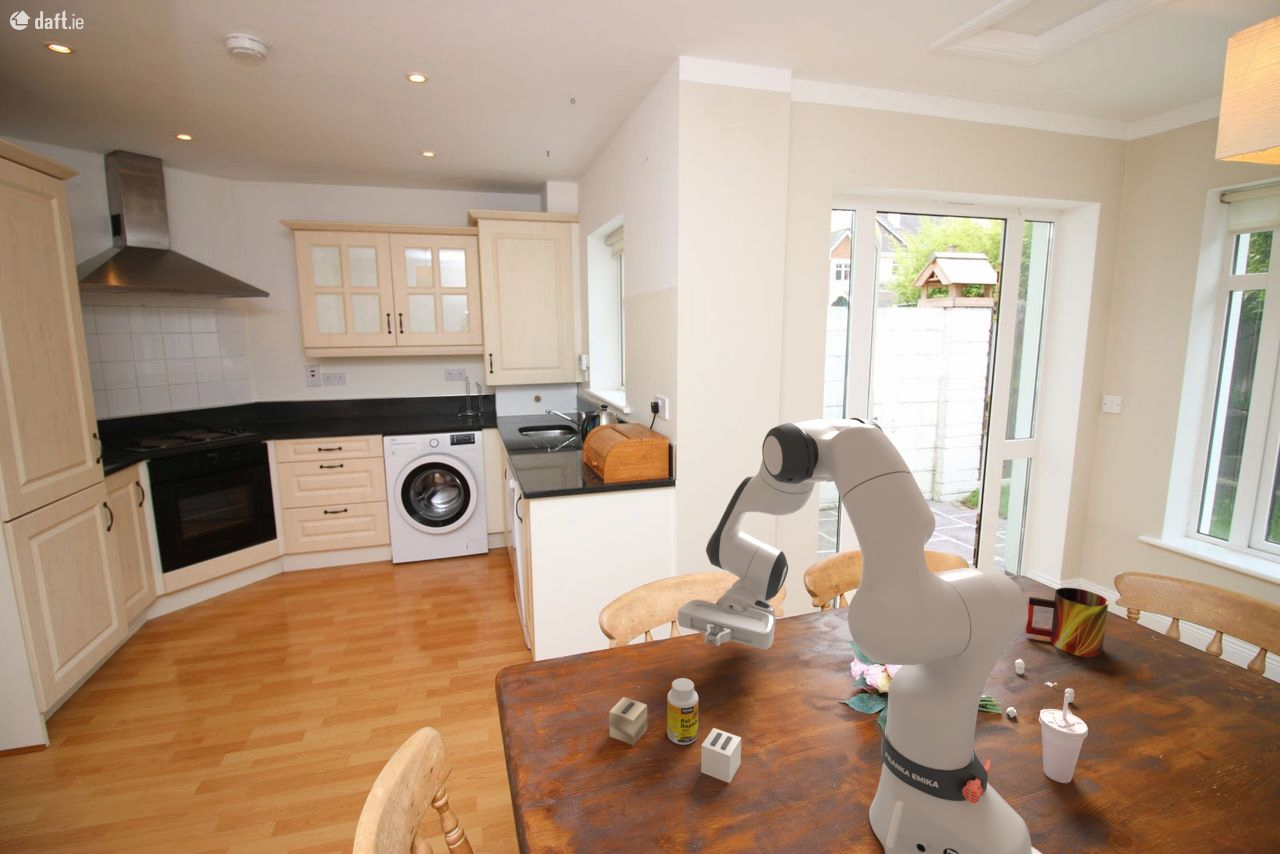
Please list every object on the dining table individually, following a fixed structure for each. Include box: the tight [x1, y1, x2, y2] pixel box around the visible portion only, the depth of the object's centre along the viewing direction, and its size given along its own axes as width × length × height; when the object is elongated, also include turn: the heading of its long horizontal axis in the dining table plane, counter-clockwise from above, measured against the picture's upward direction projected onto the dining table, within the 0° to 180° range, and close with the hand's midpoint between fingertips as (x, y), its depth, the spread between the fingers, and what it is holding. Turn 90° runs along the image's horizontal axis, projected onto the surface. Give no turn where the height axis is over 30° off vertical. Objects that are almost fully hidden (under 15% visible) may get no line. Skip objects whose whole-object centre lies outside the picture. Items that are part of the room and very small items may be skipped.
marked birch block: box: [608, 696, 648, 747], centre depth 107 cm, size 5×5×5 cm
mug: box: [1024, 587, 1109, 658], centre depth 134 cm, size 10×14×12 cm
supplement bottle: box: [666, 677, 699, 746], centre depth 105 cm, size 6×6×10 cm
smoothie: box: [1038, 693, 1089, 784], centre depth 95 cm, size 6×6×14 cm
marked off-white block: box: [700, 727, 742, 784], centre depth 98 cm, size 5×5×5 cm
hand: (710, 640), depth 116 cm, fingers closed
